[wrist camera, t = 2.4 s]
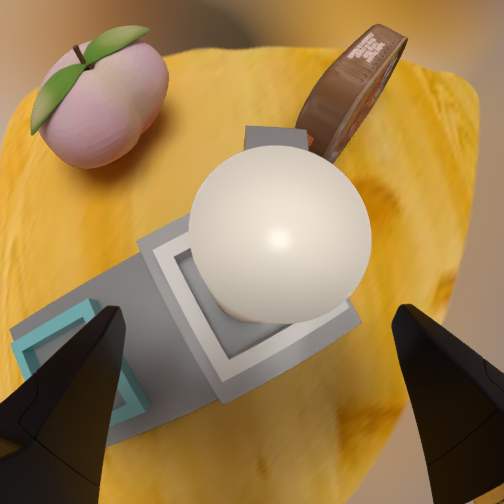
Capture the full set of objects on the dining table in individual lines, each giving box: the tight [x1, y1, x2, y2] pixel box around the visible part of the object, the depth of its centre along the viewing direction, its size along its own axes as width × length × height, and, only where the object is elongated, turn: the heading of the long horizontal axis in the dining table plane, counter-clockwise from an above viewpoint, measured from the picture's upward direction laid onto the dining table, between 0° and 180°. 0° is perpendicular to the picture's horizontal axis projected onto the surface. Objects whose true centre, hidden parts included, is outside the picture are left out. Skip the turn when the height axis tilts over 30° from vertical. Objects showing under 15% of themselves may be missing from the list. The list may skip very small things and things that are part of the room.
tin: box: [295, 24, 408, 164], centre depth 19 cm, size 15×3×8 cm, turn 144°
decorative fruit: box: [31, 26, 169, 169], centre depth 16 cm, size 9×8×10 cm
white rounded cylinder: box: [189, 126, 371, 324], centre depth 11 cm, size 5×4×10 cm
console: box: [10, 213, 362, 447], centre depth 16 cm, size 21×10×4 cm, turn 119°
